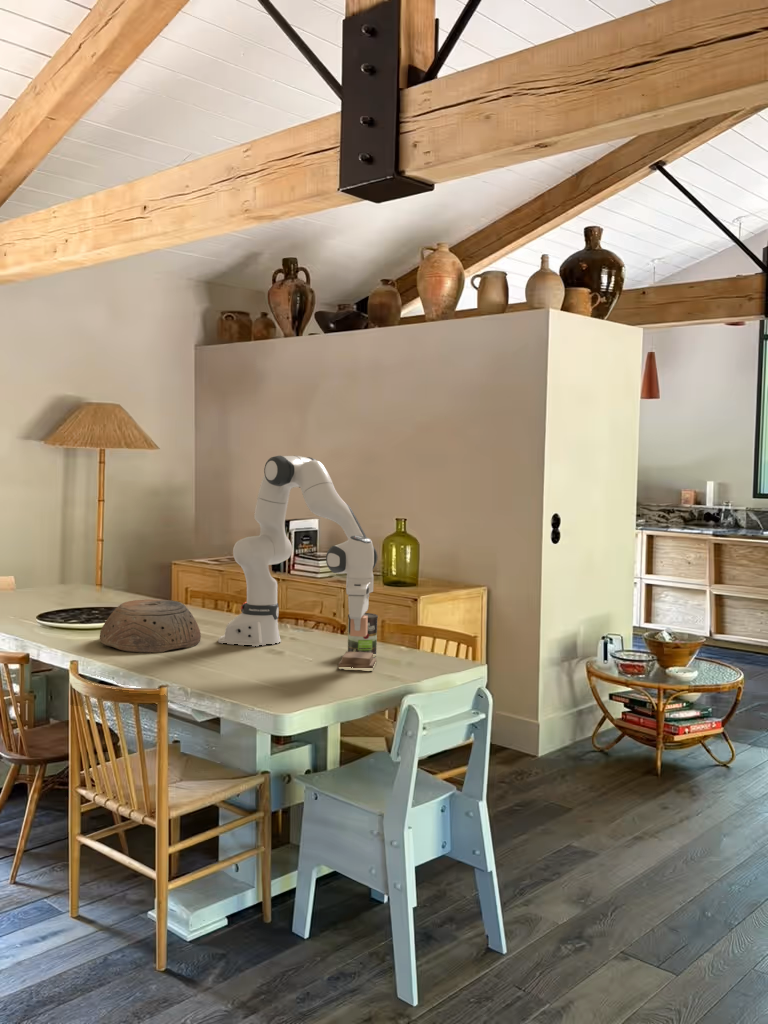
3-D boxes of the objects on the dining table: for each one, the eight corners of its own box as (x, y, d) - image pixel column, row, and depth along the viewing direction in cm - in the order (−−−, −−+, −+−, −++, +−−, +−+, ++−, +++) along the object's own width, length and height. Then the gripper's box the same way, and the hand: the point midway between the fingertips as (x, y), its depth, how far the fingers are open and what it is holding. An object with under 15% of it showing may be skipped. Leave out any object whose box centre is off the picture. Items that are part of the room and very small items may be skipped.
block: (350, 635, 298) (350, 617, 298) (352, 633, 303) (352, 615, 303) (365, 636, 298) (365, 618, 297) (367, 633, 303) (367, 615, 302)
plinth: (338, 670, 296) (338, 657, 296) (343, 662, 307) (343, 650, 307) (372, 671, 295) (372, 659, 295) (376, 664, 306) (376, 652, 306)
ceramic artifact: (86, 654, 312) (85, 610, 312) (113, 635, 348) (113, 596, 347) (191, 653, 313) (191, 610, 313) (207, 635, 349) (207, 595, 348)
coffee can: (380, 658, 316) (381, 617, 315) (350, 659, 313) (351, 617, 312) (372, 651, 326) (373, 612, 325) (344, 652, 323) (345, 612, 322)
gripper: (354, 581, 310) (353, 622, 311) (345, 590, 290) (344, 633, 291) (373, 582, 310) (372, 623, 310) (365, 590, 289) (364, 634, 290)
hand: (358, 628), depth 300 cm, fingers closed on block, 5 cm apart
